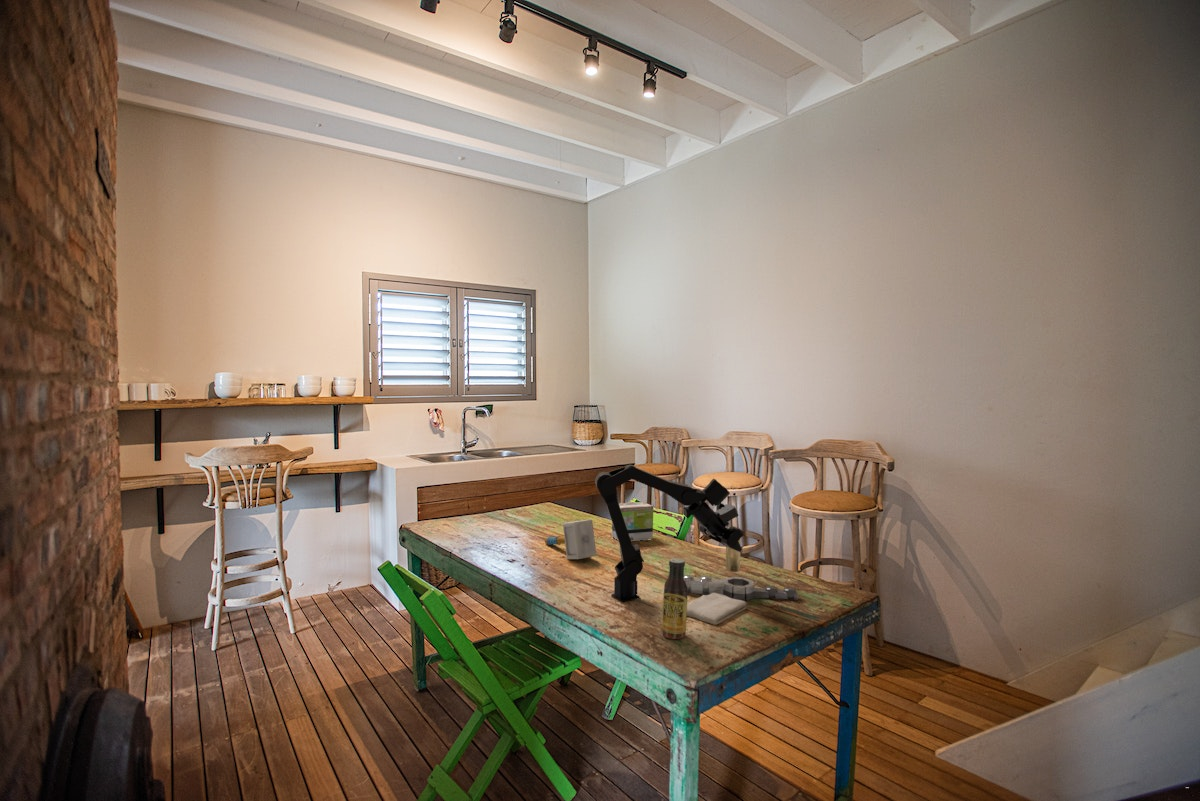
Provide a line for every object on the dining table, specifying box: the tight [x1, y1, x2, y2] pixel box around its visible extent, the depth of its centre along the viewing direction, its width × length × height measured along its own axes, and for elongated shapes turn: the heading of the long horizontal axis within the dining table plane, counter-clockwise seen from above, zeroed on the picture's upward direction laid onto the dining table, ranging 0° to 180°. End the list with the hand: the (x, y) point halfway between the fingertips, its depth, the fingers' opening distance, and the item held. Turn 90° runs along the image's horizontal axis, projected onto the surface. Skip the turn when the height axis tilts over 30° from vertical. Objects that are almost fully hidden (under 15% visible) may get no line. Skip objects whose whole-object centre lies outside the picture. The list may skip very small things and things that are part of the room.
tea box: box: [611, 501, 654, 542], centre depth 248 cm, size 15×10×15 cm
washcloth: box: [686, 593, 747, 626], centre depth 169 cm, size 12×18×3 cm, turn 138°
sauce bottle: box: [661, 557, 688, 640], centre depth 152 cm, size 7×6×20 cm
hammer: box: [544, 518, 598, 560], centre depth 227 cm, size 8×13×30 cm
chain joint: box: [684, 574, 799, 602], centre depth 182 cm, size 35×9×5 cm, turn 80°
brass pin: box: [725, 526, 741, 573], centre depth 185 cm, size 4×4×13 cm
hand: (736, 548), depth 185 cm, fingers closed on brass pin, 4 cm apart
